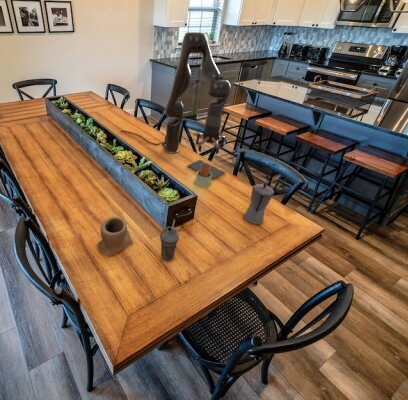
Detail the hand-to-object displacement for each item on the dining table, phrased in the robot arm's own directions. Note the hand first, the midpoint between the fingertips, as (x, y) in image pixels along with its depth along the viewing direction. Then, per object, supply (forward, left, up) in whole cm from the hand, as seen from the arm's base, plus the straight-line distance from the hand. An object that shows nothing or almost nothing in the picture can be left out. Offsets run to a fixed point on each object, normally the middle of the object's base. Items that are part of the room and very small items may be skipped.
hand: (208, 152), depth 144 cm
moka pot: (+37, -6, -20) cm, 42 cm away
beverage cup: (+26, -55, -20) cm, 64 cm away
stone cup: (+8, -67, -20) cm, 70 cm away
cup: (0, 0, -20) cm, 20 cm away
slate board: (-8, +13, -20) cm, 25 cm away
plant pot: (0, 0, -19) cm, 19 cm away
